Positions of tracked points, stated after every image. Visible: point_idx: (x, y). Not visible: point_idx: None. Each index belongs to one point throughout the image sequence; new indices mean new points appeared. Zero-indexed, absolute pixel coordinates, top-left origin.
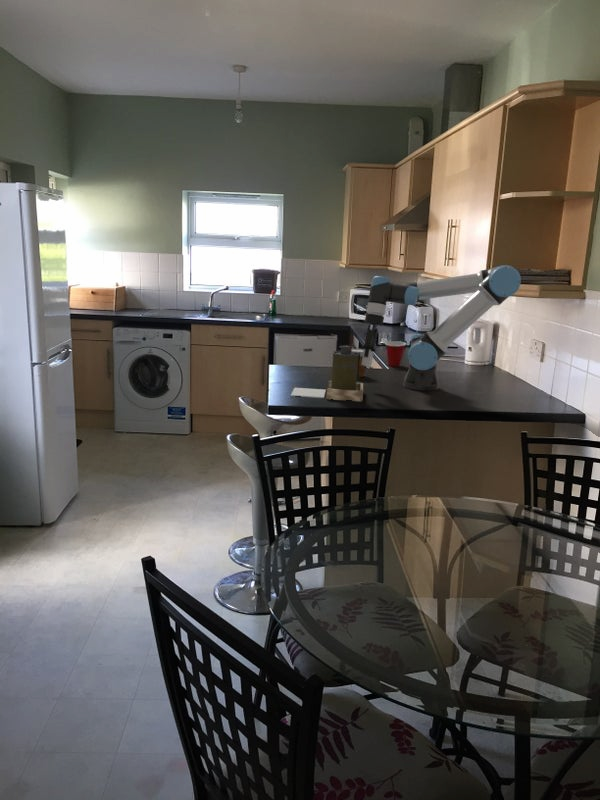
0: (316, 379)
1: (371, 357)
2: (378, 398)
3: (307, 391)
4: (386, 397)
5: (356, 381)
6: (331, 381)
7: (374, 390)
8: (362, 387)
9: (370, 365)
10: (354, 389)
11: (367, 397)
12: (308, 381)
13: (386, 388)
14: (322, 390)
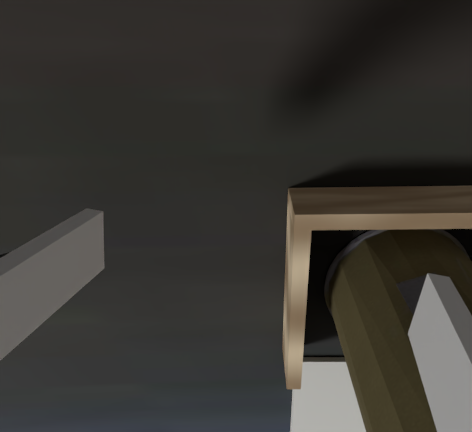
0: (41, 400)
1: (40, 262)
2: (440, 82)
3: (357, 420)
4: (401, 21)
5: (455, 277)
6: (296, 378)
7: (189, 110)
8: (449, 216)
9: (96, 221)
10: (464, 257)
11: (418, 155)
12: (107, 423)
13: (79, 16)
14: (318, 373)
